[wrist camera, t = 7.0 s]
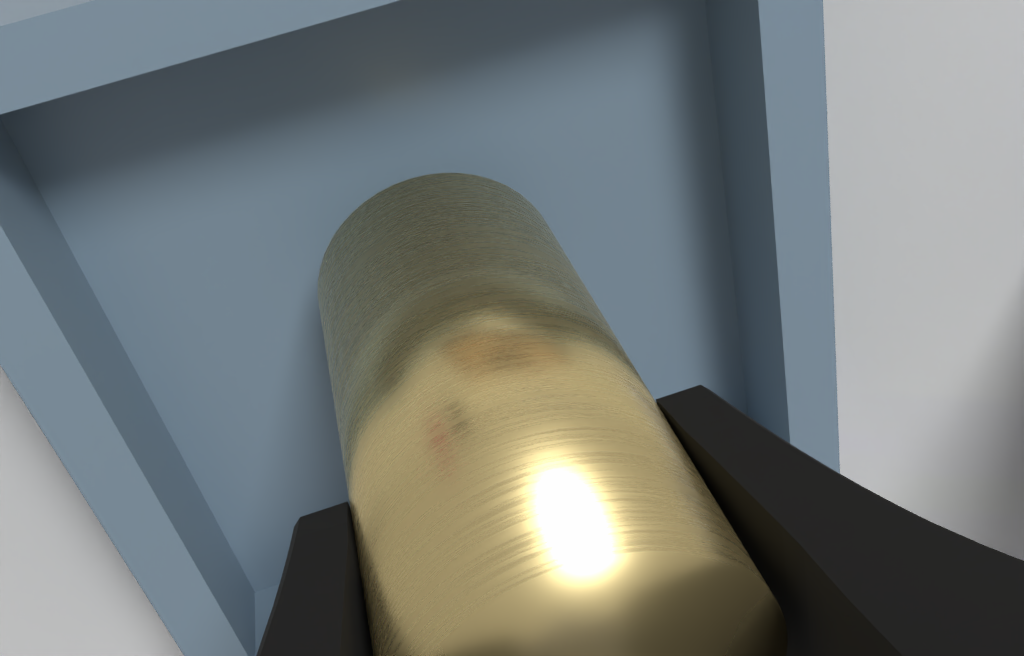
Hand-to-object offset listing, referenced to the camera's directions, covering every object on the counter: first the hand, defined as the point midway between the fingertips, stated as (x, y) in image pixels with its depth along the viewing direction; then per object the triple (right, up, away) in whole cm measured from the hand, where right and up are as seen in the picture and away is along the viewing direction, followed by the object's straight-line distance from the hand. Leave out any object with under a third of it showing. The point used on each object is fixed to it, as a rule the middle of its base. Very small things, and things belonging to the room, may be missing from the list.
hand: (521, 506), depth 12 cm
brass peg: (-1, +3, +3) cm, 5 cm away
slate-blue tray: (-2, +4, +6) cm, 7 cm away
